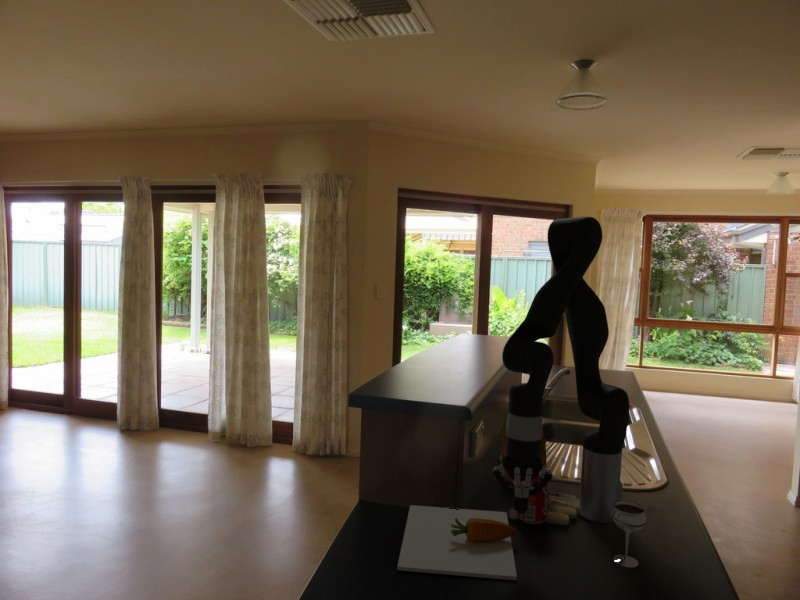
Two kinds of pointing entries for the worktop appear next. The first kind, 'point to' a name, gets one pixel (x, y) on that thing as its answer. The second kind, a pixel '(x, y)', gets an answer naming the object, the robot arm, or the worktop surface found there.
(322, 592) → the worktop surface
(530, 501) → the soda can
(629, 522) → the wineglass
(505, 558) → the rubber mat
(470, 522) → the carrot
